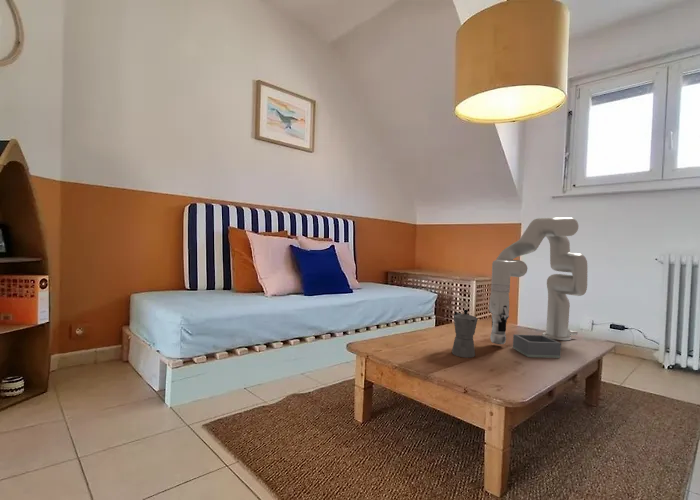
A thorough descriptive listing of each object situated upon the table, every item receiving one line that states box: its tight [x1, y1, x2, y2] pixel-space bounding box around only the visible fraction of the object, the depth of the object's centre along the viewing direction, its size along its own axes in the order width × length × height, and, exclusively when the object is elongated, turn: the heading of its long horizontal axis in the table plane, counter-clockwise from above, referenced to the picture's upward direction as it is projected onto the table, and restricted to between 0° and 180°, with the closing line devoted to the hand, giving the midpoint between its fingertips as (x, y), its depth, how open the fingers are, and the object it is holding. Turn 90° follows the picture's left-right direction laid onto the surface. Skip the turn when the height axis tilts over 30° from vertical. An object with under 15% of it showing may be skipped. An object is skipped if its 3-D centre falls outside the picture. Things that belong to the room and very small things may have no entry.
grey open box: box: [512, 333, 562, 359], centre depth 156 cm, size 13×12×6 cm
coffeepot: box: [451, 308, 478, 359], centre depth 150 cm, size 15×9×18 cm, turn 12°
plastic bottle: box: [490, 308, 507, 345], centre depth 163 cm, size 6×7×20 cm
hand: (498, 329), depth 164 cm, fingers closed on plastic bottle, 5 cm apart
